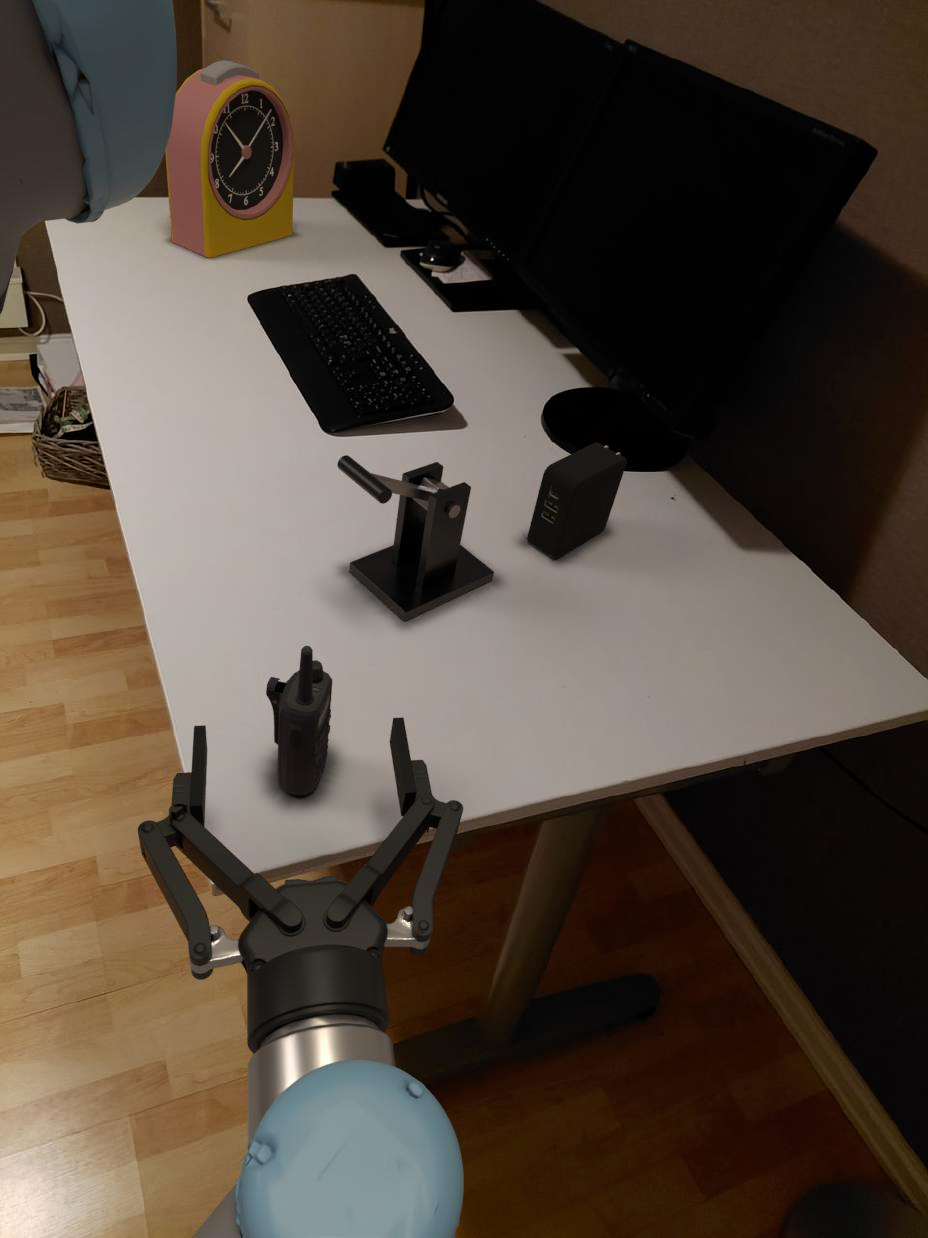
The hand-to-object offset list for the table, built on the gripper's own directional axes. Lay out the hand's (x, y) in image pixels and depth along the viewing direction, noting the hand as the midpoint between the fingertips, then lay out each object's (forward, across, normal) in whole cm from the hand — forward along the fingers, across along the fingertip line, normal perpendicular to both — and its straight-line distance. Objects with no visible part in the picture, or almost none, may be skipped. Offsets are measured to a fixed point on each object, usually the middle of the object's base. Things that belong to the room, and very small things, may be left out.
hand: (301, 733), depth 60 cm
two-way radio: (+3, 0, -8) cm, 9 cm away
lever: (+24, +10, +3) cm, 26 cm away
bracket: (+27, +14, -8) cm, 31 cm away
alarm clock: (+120, -6, -8) cm, 120 cm away
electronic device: (+34, +32, -8) cm, 47 cm away
